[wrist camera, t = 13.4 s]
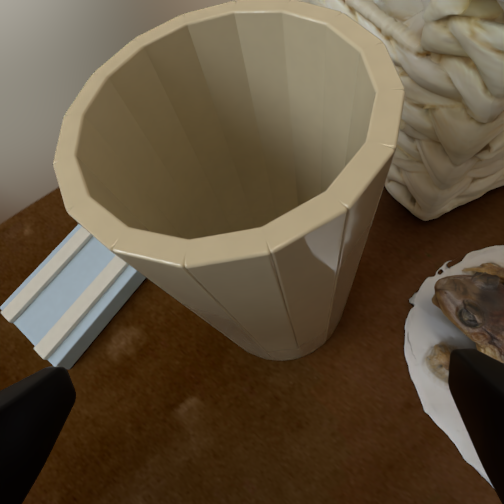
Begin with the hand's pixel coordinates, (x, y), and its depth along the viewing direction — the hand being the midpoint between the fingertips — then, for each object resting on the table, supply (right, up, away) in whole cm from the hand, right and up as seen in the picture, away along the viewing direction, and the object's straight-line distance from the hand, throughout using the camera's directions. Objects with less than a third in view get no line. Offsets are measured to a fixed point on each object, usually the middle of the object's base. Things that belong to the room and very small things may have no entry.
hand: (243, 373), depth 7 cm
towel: (-10, +1, +13) cm, 16 cm away
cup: (+2, 0, +10) cm, 11 cm away
